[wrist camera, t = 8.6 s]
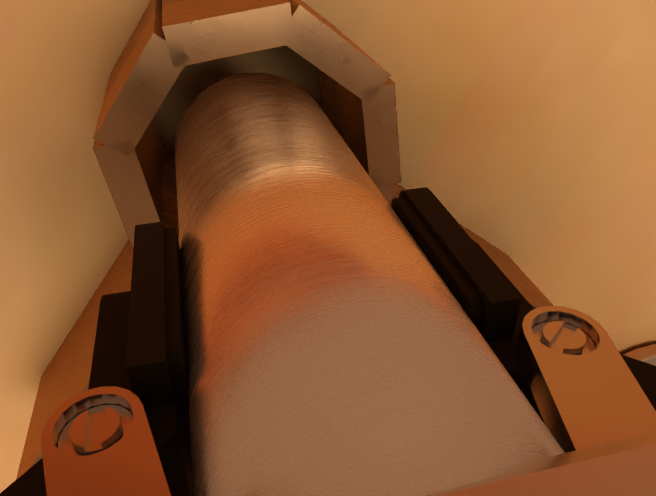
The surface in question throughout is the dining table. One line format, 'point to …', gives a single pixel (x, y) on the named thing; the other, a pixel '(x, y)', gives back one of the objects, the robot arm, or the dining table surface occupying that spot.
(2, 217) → the dining table surface
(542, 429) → the hinge pin
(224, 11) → the hinge
